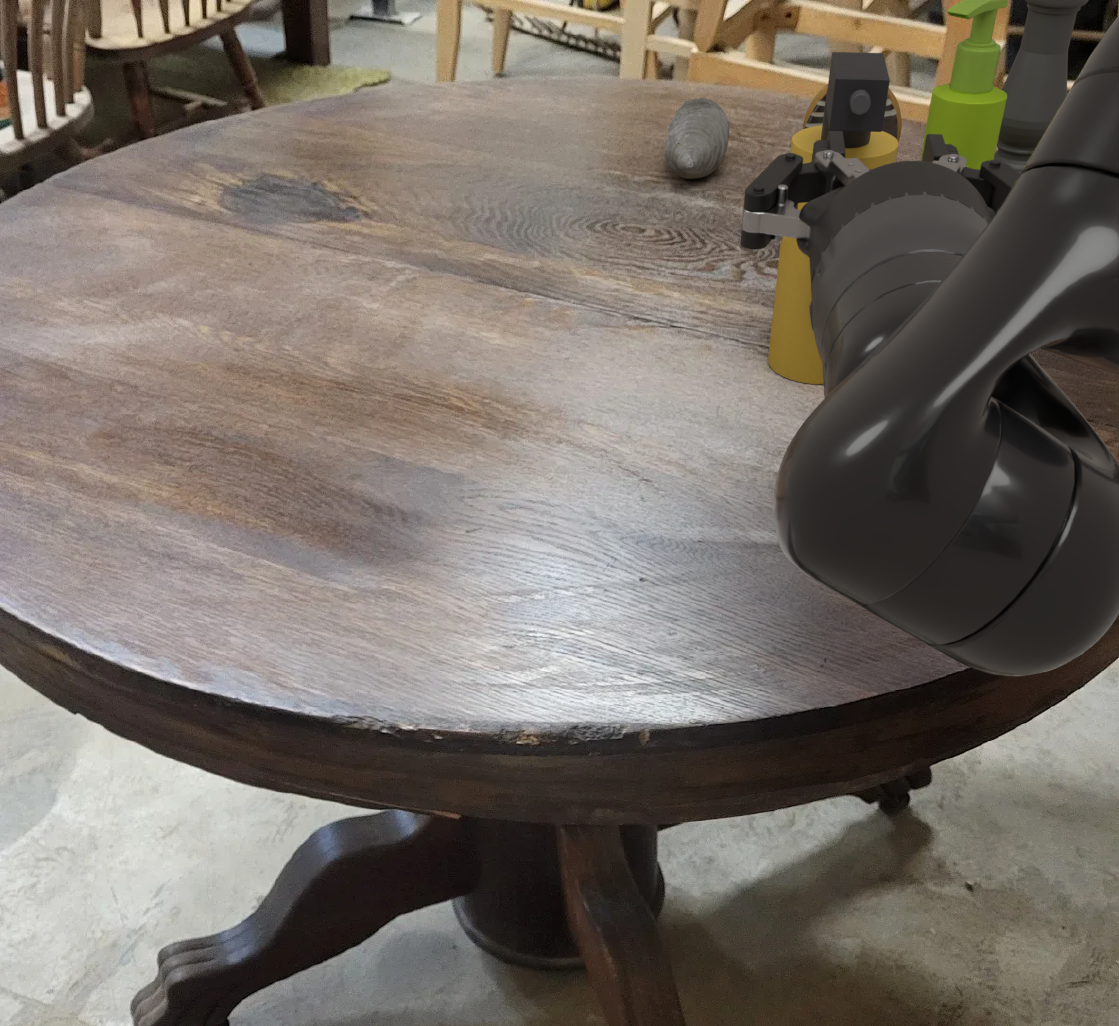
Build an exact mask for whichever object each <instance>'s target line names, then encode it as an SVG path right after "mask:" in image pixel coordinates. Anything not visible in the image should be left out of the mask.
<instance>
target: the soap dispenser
mask: <svg viewBox="0 0 1119 1026" xmlns="http://www.w3.org/2000/svg"><path fill="white" fill-rule="evenodd" d="M1008 3H1009V0H961V1H959V2H957V3H955V4H953V6H951V7H950V8H949V9H948V10H947V14H948V16H951V17H955V18H960V19H964V20H971V19H972V23H971V28H970V33H969V37H967V38H965V39H964V40H962V41H959V42H958V43H957V45H956V49H955V55H954V59H953V65H952V70H951V76H950V82H949V83H944V84H941V85H937V86H935V87H934V88H933V89H932V93H931V98H930V104H929V108H928V109H929V110H928V115H927V120H926V125H925V126H926V127H925V132H924V137H923V143H922V149H921V155H920V158H919V159H920V160H919V161H922V157H923V152H924V146H925V141H926V136H927V134H942V136H943V139H944V142H945V144H952V145H953V146H955V147H956V148H957V150H958V153H959V156H962V157H965V158H966V159H967V161H966V167H968V168H972V169H978V170H980V168H981V163H982V162H984V161H990V160H994V156H995V153H996V152H997V142H998V137H999V132H1000V128H1001V123H1002V118H1003V114H1004V109H1005V105H1006V100H1007V94H1006V92H1004V91H1003V90H1002V88H999V87H996V86H994V83H995V79H996V74H997V69H998V64H999V58H1000V55H1001V50H1002V46H1001V45H1000V44H999V43H997V42H996V40H995V39H993V34H994V29H995V25H996V19H997V15H998V10H999V9H1004V8H1007V7H1008Z"/></svg>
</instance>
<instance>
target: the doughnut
mask: <svg viewBox="0 0 1119 1026" xmlns="http://www.w3.org/2000/svg"><path fill="white" fill-rule="evenodd" d="M827 89H828V83H827V84H826V85H825V86H823V87H822V88H821V89H820V90H819V91H818V92H817V93H816V95H815V96H814V97H813V99H812V100H811V102H810V104H809V106H808V108H807V110H806V113H805V115H804V119H803V123H802V130H803V129H806V128H810V127H814V126H821V125H823V117H824V109H825V101H826V93H827ZM902 125H903V123H902V112H901V109H900V105H899V102H898V99H897V97H896V95H895V93H893V91H892V90H891V89H890V88H889V89H888V96H887V102H886V109H885V115H884V122H883V128H882V131H883V132H886V133H888V134H890V135H892V136H893V137H895V138H896V139H897V141H898V143H899V142H900V139H901V135H902V128H903V126H902Z"/></svg>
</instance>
